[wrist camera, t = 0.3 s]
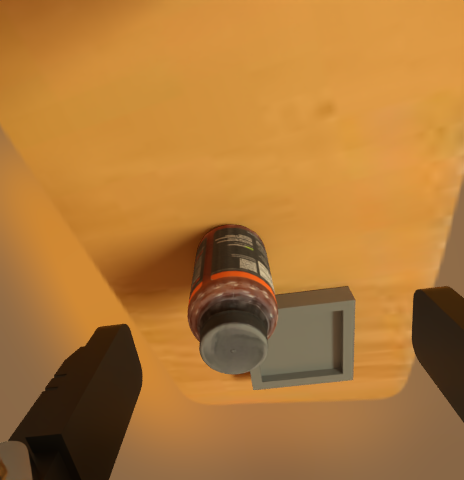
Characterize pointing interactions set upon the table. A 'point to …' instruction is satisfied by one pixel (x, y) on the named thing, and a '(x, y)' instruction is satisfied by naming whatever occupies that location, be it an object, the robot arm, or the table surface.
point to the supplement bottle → (232, 300)
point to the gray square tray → (310, 340)
